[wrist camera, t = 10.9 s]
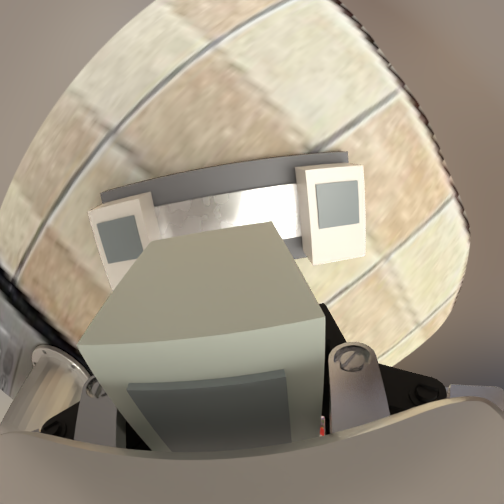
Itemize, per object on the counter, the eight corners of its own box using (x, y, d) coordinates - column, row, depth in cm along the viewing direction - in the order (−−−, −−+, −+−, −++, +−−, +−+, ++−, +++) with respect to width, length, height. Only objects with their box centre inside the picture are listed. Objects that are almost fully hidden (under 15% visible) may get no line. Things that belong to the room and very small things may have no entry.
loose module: (287, 363, 12) (316, 476, 7) (195, 375, 12) (186, 489, 6) (271, 220, 10) (329, 323, 4) (151, 241, 10) (72, 351, 4)
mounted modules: (350, 242, 26) (366, 256, 23) (126, 278, 26) (113, 296, 22) (346, 162, 23) (364, 165, 20) (104, 203, 23) (86, 212, 19)
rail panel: (346, 244, 28) (354, 251, 27) (131, 278, 28) (124, 287, 26) (341, 151, 25) (350, 151, 23) (106, 190, 24) (97, 194, 22)
